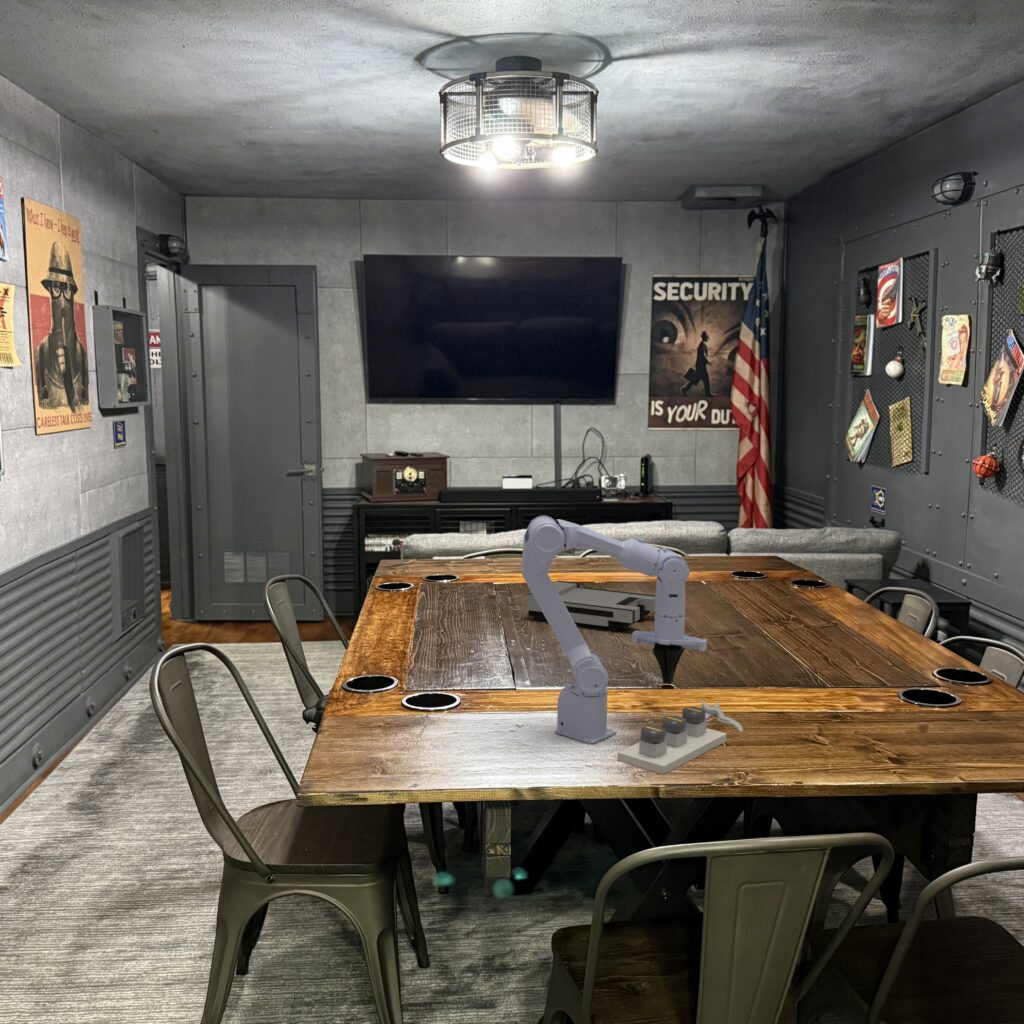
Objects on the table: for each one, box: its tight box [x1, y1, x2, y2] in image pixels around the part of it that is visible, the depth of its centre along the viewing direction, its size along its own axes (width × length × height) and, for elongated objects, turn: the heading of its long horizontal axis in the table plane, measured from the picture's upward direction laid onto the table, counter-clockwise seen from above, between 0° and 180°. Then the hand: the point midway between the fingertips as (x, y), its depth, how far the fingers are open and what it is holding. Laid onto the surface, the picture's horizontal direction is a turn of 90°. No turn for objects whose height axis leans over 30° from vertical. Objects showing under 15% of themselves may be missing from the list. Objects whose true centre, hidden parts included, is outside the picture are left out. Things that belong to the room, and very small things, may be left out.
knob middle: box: [661, 715, 686, 733], centre depth 194 cm, size 4×4×4 cm
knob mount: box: [617, 719, 728, 775], centre depth 195 cm, size 10×22×4 cm, turn 139°
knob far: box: [681, 706, 706, 724], centre depth 200 cm, size 4×4×4 cm
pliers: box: [701, 701, 744, 734], centre depth 212 cm, size 10×2×15 cm
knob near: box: [640, 724, 666, 744], centre depth 189 cm, size 4×4×4 cm
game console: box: [525, 580, 655, 633], centre depth 293 cm, size 21×32×8 cm, turn 62°
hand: (668, 682), depth 203 cm, fingers closed
